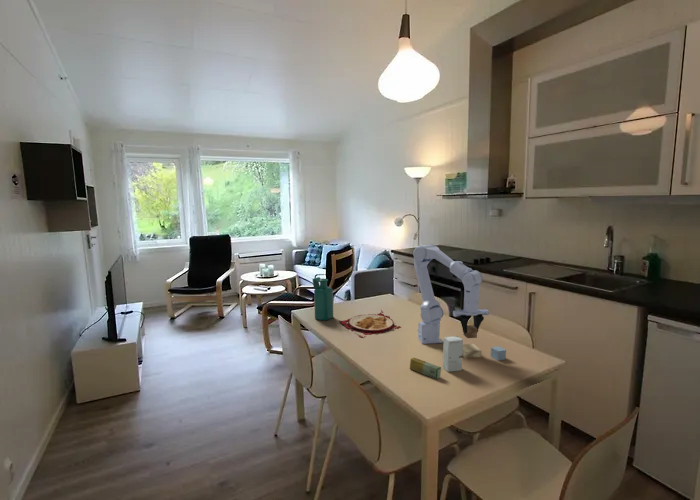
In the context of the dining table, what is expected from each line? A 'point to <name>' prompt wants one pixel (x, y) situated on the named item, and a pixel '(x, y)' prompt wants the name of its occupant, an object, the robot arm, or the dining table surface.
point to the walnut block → (471, 332)
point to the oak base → (471, 351)
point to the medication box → (425, 368)
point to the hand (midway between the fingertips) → (470, 332)
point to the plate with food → (370, 324)
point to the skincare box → (452, 353)
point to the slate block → (498, 353)
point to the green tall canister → (323, 299)
